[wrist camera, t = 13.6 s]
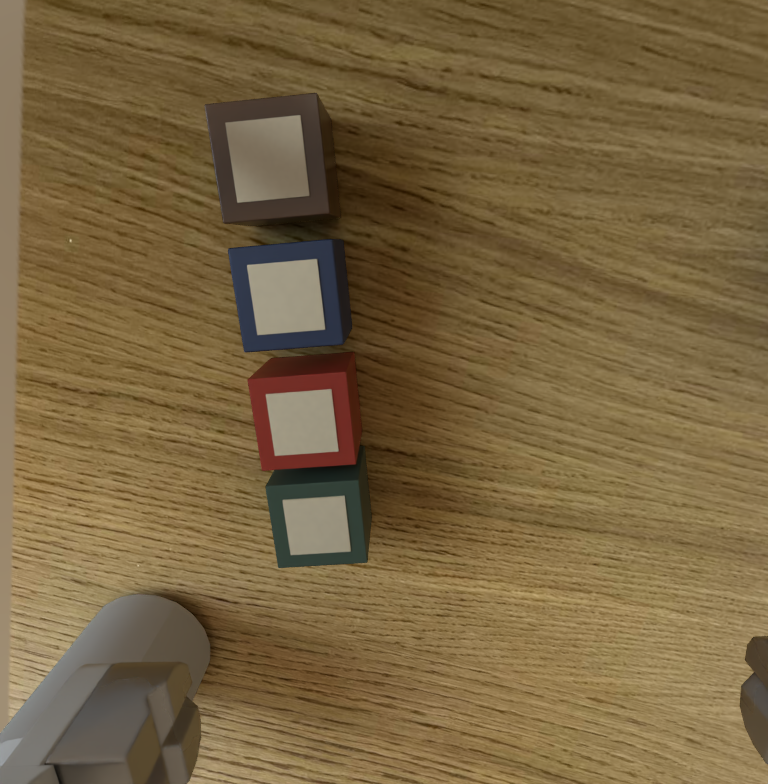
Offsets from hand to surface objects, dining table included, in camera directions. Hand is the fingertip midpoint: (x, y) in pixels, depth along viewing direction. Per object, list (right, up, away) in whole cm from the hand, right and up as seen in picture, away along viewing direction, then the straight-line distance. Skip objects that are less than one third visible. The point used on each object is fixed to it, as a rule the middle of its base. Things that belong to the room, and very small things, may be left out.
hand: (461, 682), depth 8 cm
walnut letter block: (-6, +15, +18) cm, 24 cm away
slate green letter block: (-4, -1, +22) cm, 23 cm away
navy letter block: (-5, +10, +19) cm, 22 cm away
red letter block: (-5, +4, +21) cm, 22 cm away
